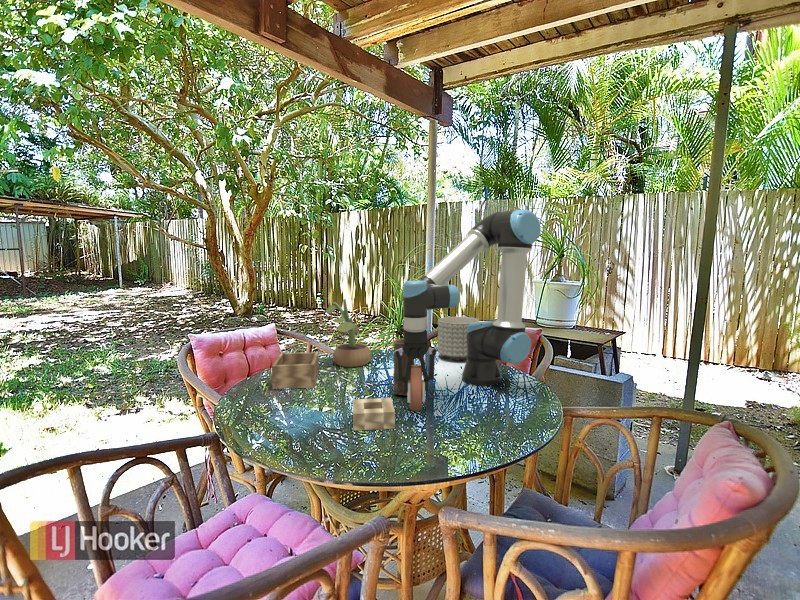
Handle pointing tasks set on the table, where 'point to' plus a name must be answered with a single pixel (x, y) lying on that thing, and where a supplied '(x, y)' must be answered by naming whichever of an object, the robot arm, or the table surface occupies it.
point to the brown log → (400, 384)
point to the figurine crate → (295, 370)
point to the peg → (416, 387)
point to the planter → (453, 336)
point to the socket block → (373, 414)
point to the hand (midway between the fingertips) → (416, 400)
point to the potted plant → (351, 351)
